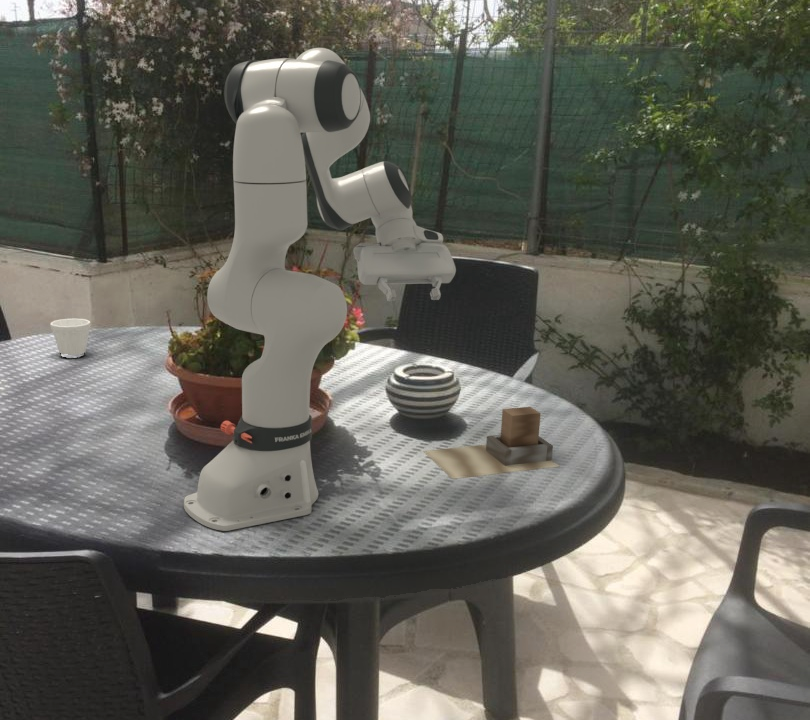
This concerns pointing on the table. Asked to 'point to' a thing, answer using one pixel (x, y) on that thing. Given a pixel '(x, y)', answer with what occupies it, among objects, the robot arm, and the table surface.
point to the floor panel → (492, 458)
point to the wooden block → (520, 427)
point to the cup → (71, 335)
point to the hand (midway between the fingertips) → (414, 298)
